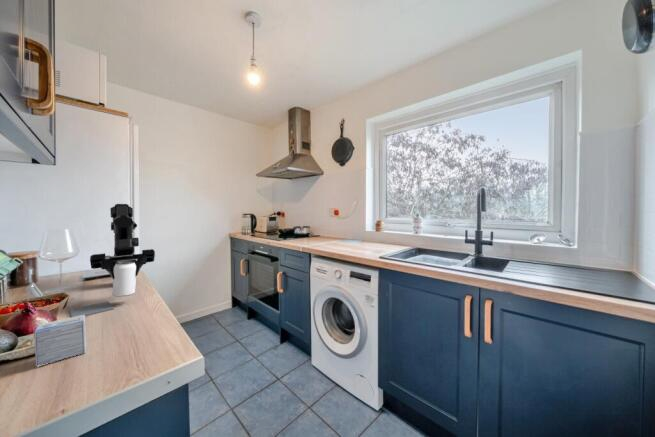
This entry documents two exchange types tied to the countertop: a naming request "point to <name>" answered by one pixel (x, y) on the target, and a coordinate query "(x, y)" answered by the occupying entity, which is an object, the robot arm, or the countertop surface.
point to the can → (124, 278)
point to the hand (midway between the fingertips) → (125, 276)
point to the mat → (91, 309)
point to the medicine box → (60, 339)
